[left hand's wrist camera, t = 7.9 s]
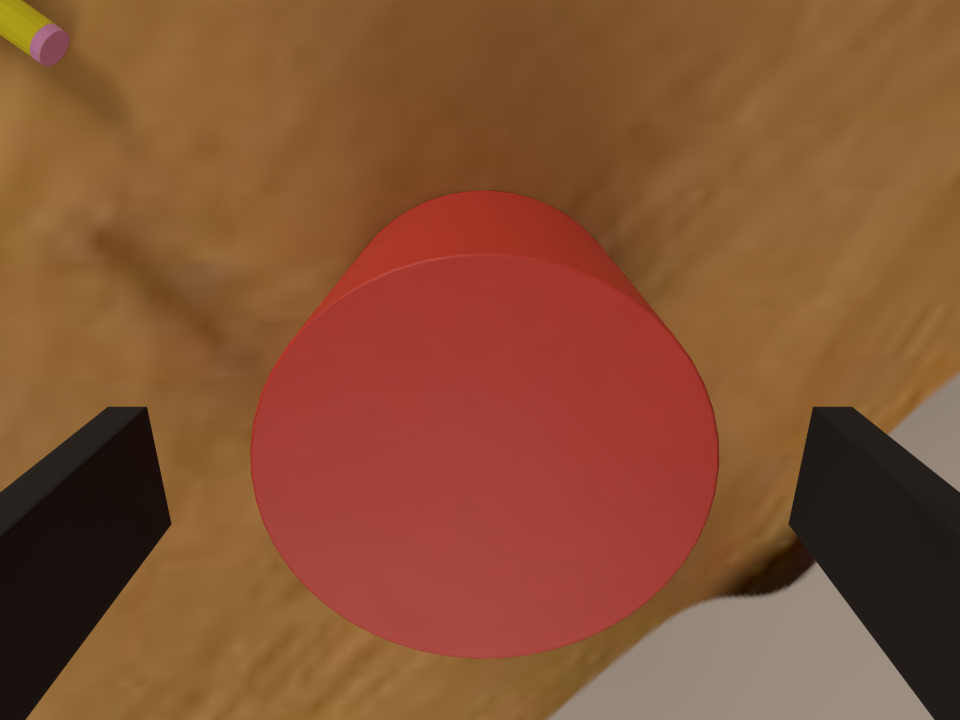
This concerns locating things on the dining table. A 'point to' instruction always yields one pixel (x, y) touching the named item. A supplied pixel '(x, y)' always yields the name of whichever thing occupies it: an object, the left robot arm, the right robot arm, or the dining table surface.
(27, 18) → the pencil
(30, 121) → the dining table surface
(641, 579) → the canister
